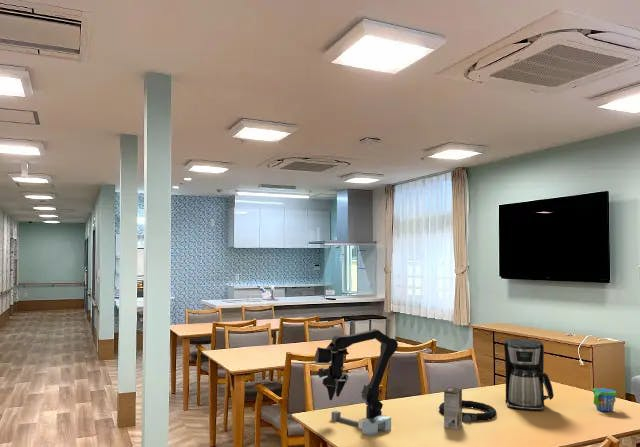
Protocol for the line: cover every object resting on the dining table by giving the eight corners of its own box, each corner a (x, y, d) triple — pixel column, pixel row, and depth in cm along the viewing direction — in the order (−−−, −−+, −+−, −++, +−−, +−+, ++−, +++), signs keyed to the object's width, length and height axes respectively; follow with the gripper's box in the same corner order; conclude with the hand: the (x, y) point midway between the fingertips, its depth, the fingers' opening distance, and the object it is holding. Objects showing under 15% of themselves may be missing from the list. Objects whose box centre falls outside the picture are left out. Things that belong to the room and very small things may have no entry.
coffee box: (448, 422, 249) (448, 386, 250) (462, 424, 246) (462, 388, 247) (443, 427, 241) (443, 390, 242) (457, 429, 238) (457, 392, 239)
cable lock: (495, 402, 275) (498, 417, 246) (495, 409, 274) (498, 426, 246) (440, 397, 282) (436, 412, 253) (440, 404, 282) (436, 420, 253)
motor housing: (362, 433, 230) (362, 421, 230) (381, 426, 240) (382, 414, 240) (371, 436, 226) (371, 423, 227) (391, 429, 237) (391, 417, 237)
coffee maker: (513, 411, 269) (513, 343, 272) (488, 395, 302) (488, 335, 304) (557, 411, 271) (556, 344, 274) (527, 395, 303) (527, 335, 306)
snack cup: (605, 406, 283) (605, 386, 284) (624, 411, 274) (624, 391, 275) (585, 409, 277) (584, 389, 278) (603, 414, 267) (603, 393, 268)
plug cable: (330, 419, 249) (330, 412, 249) (336, 418, 252) (336, 410, 252) (367, 430, 234) (367, 422, 234) (373, 428, 237) (373, 420, 237)
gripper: (328, 358, 258) (325, 391, 256) (313, 363, 241) (310, 399, 239) (350, 362, 254) (347, 395, 252) (336, 367, 236) (333, 403, 235)
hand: (334, 398), depth 245 cm, fingers open, 9 cm apart
